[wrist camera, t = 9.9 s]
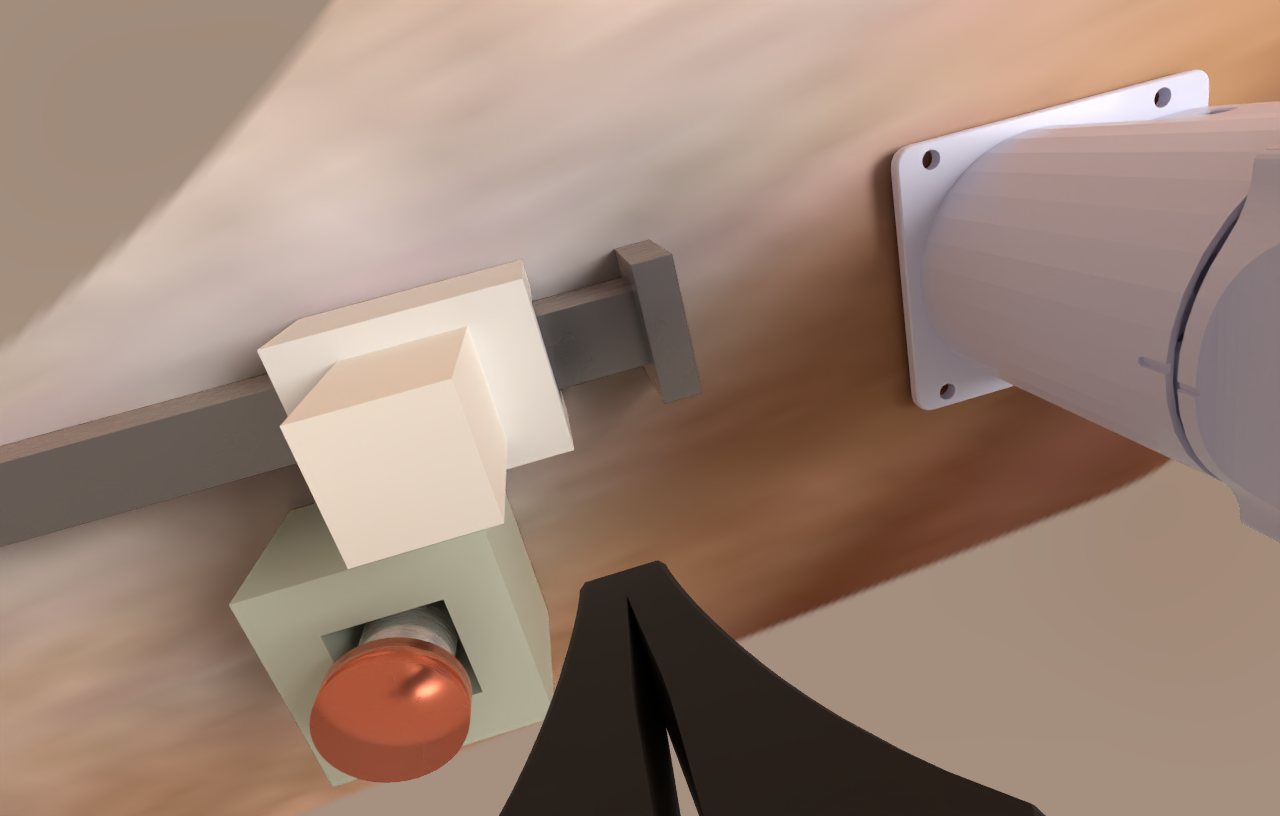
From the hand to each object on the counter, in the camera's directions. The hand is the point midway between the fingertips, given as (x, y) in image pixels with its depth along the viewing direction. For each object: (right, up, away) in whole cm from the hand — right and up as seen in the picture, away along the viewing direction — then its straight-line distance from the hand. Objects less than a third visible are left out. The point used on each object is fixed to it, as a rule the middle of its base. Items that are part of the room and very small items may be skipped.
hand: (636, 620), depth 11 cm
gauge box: (-7, -1, +10) cm, 12 cm away
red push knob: (-6, -2, +9) cm, 11 cm away
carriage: (-6, +5, +8) cm, 11 cm away
